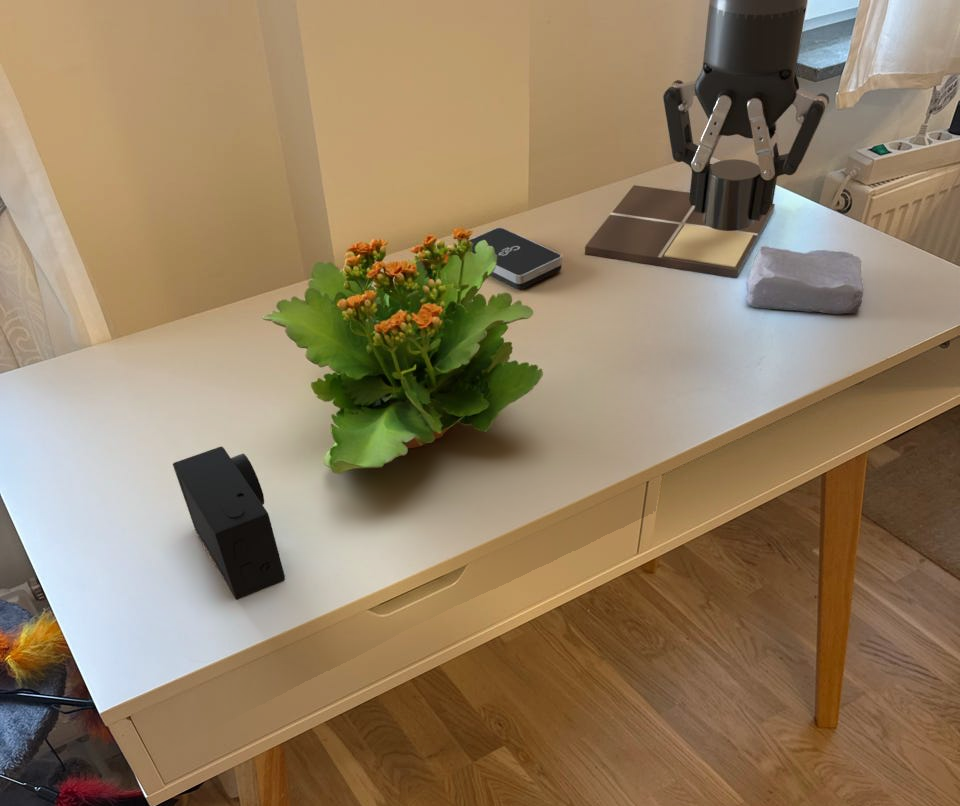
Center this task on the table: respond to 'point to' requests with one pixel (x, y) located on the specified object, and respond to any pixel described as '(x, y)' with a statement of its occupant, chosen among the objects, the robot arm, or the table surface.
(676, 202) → the board
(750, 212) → the dark grey cylinder
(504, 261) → the external hard drive
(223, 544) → the digital camera
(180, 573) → the table surface
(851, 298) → the block
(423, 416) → the potted flower
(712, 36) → the robot arm
